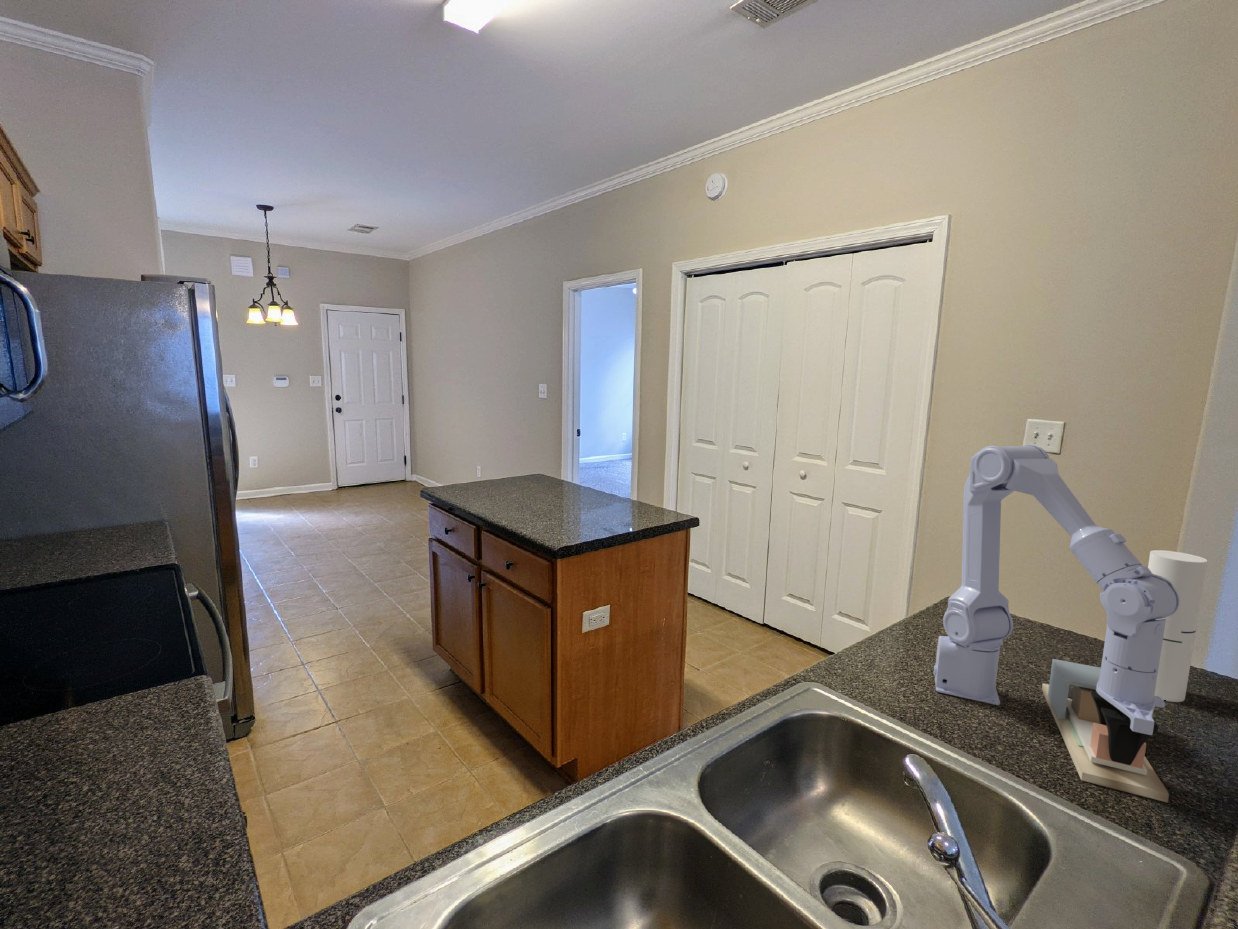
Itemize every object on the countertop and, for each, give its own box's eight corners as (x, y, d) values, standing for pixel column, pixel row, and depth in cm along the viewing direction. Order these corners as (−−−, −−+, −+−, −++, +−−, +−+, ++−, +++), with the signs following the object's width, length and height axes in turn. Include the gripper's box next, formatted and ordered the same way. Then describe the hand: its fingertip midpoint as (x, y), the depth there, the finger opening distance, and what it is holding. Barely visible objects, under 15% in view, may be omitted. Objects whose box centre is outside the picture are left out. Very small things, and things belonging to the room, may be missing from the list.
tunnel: (1057, 725, 92) (1063, 679, 91) (1047, 701, 99) (1052, 658, 98) (1130, 742, 88) (1137, 694, 87) (1113, 715, 95) (1120, 671, 94)
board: (1081, 780, 79) (1082, 771, 79) (1041, 689, 103) (1042, 682, 102) (1167, 802, 75) (1169, 792, 75) (1105, 702, 99) (1106, 695, 98)
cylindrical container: (1196, 702, 99) (1220, 562, 96) (1155, 701, 99) (1176, 561, 96) (1158, 681, 106) (1179, 550, 103) (1119, 680, 106) (1139, 549, 103)
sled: (1090, 761, 80) (1095, 726, 80) (1062, 703, 95) (1066, 673, 95) (1146, 775, 78) (1152, 739, 77) (1108, 713, 93) (1112, 682, 92)
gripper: (1192, 695, 70) (1175, 796, 72) (1148, 647, 83) (1135, 734, 85) (1118, 681, 73) (1104, 778, 75) (1087, 637, 86) (1075, 721, 88)
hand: (1116, 754), depth 80 cm, fingers closed on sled, 3 cm apart
